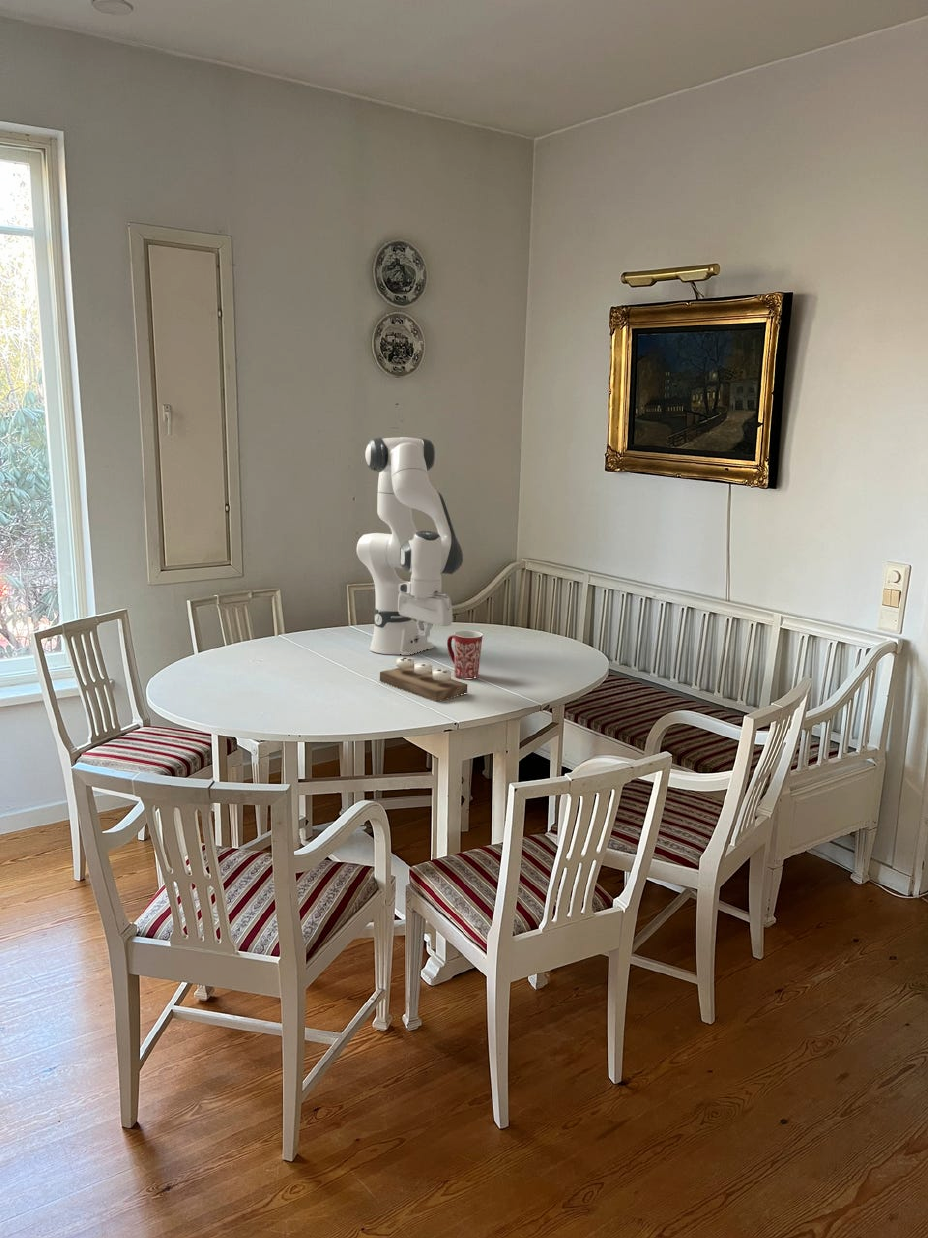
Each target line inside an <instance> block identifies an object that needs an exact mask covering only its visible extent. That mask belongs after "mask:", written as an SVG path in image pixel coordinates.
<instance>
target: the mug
mask: <svg viewBox="0 0 928 1238" xmlns="http://www.w3.org/2000/svg"><path fill="white" fill-rule="evenodd" d="M483 637H484V633H482V632H479V631H476V630H468V629H467V630H464V629H463V630H458V631H455V632H453V634H452V635H450V636H448V638H447V642H446V644H447V645H446V646H447V651H448V654H449V657H450V659H451V661H452V663H453V665H454V670H453V671H454V677H455V676H456V678H457V677H458V678H457V679H460V678H474V677H477V676H478V677H479V673H480V672H479V670H480V661H481V653H482V642H483ZM452 640H453V641H454V642H453V641H452ZM452 642H453V644H454V649H453V646H452ZM478 677H477V678H478Z"/></svg>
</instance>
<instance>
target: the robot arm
mask: <svg viewBox="0 0 928 1238" xmlns="http://www.w3.org/2000/svg"><path fill="white" fill-rule="evenodd" d="M364 454H365V455H364V456H365V461H366V463H367V467H368V468H369V469H370V470H371V471H373V472H376V473H377V472H378V478H377V479H378V480H377V499H376V500H377V502H376V503H377V505H376V507H377V508H376V511H377V516H378V517H379V518H378V519H380V520H381V521H383V522H384V523H385V524H386V525H387V526H388V527H389V528H390V531H391V533H383V532H373V533H372V532H371V533H365V534H362V536H361V537H360V538H359V539H358V541H357V544H356V555H357V557H358V560H359V561H360V562H362V564H363V565H364V566H366V568H367V570H368V572H369V573H370V575H371V578H372V580H373V584H374V589H375V590H374V591H375V607H374V608H373V620H374V626H373V627H374V628H373V635H372V638H371V639H372V640H371V644H370V646H369V650H370V651H372V652H374V653H378V654H382V655H400V654H401V656H411V655H414V653H415V654H417V652H418V653H421V652H424V651H423V650H425V651H427V650H426V649H428V650H430V649H431V650H432V649H435V644H434V643H433V642H431V641H429V640H428V637H430V635H431V631H432V628H433V626H434V625H435V626H440V627H448V626H451V625H452V623H453V606H452V599H451V597H450V596H449V595H448V593H446V592H442V581H443V580H442V578H443V577H442V574H444V575H446V574H447V575H453V574H454V573H456V572H457V571H458V570H459V569H461V567H462V566H463V562H464V554H463V549H462V547H461V544H460V542H459V540H458V538H457V535H456V533H455V529H454V526H453V523H452V520H451V516H450V514H449V510H448V507H447V505H446V502H445V500H444V498H443V495H442V494H441V493H440V492H439V491H438V490H436V488H434V486H433V485H432V483H431V481H430V478H429V473H428V471H430V470H431V469H433V467H434V464H435V461H436V454H437V453H436V450H435V445H434V443H433V442H432V440H430V439H426V438H416V437H415V438H414V437H406V436H400V437H385V438H382V437H376V438H372V439H370V440H369V442H368V443H367V445H366V448H365V453H364ZM412 509H415V510H417V511H420V512H423V513H425V515H428V516H429V517H431V519H432V520H433V523H434V525H435V527H436V531H437V532H435V531H432V530H420V531H418V529H417V527H416V524H415V522H414V519H413V512H412V511H413V510H412ZM396 569H403V570H405V571H406V572H409V573H411V575H410V581H407V582H406V581H405V580H403V578H401V577H399V575H398V574H397V572H396ZM420 651H421V652H420ZM410 654H411V655H410Z"/></svg>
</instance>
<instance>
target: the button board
mask: <svg viewBox="0 0 928 1238" xmlns="http://www.w3.org/2000/svg"><path fill="white" fill-rule="evenodd" d="M380 681H381V682H380ZM379 682H380V683H382V682H384V683H383V684H385V683H387V684H386V685H388V684H389V686H391V685H392V686H391V687H393V686H394V687H393V688H396V687H397V688H396V689H399V688H400V689H399V690H402V689H403V691H405V692H407V691H408V693H410V692H411V693H410V694H414V695H416V696H418V695H419V697H421V696H422V697H421V698H423V699H427V700H429V699H430V701H432V700H433V701H432V702H435V701H436V703H438V702H441V701H440V700H442V701H445V700H444V699H446V700H448V699H447V698H450V699H452V698H451V697H454V696H457V695H461V694H464V693H467V694H468V685H469V684H468V683H465V682H462V681H458V680H456V679H454V678H451V679H450V680H446V681H439V680H435V679H433V672H432V673H431V674H417V673H415V672H414V667H413V668H399V667H396V668H392V669H388V670H387V669H386V670H382V671H380V672H379ZM454 698H455V697H454ZM437 701H438V702H437Z"/></svg>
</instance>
